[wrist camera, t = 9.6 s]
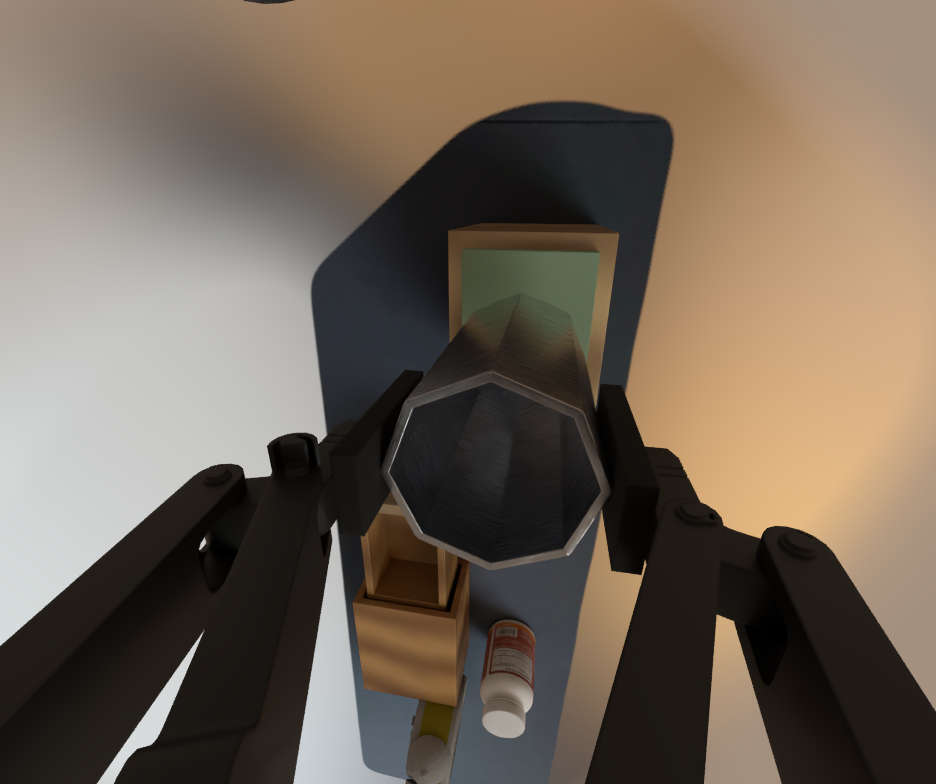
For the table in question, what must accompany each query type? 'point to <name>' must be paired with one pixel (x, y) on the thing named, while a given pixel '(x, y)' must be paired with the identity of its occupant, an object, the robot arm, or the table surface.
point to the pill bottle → (508, 678)
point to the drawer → (405, 562)
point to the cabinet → (415, 643)
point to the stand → (540, 239)
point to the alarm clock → (434, 740)
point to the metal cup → (502, 440)
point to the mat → (533, 281)
